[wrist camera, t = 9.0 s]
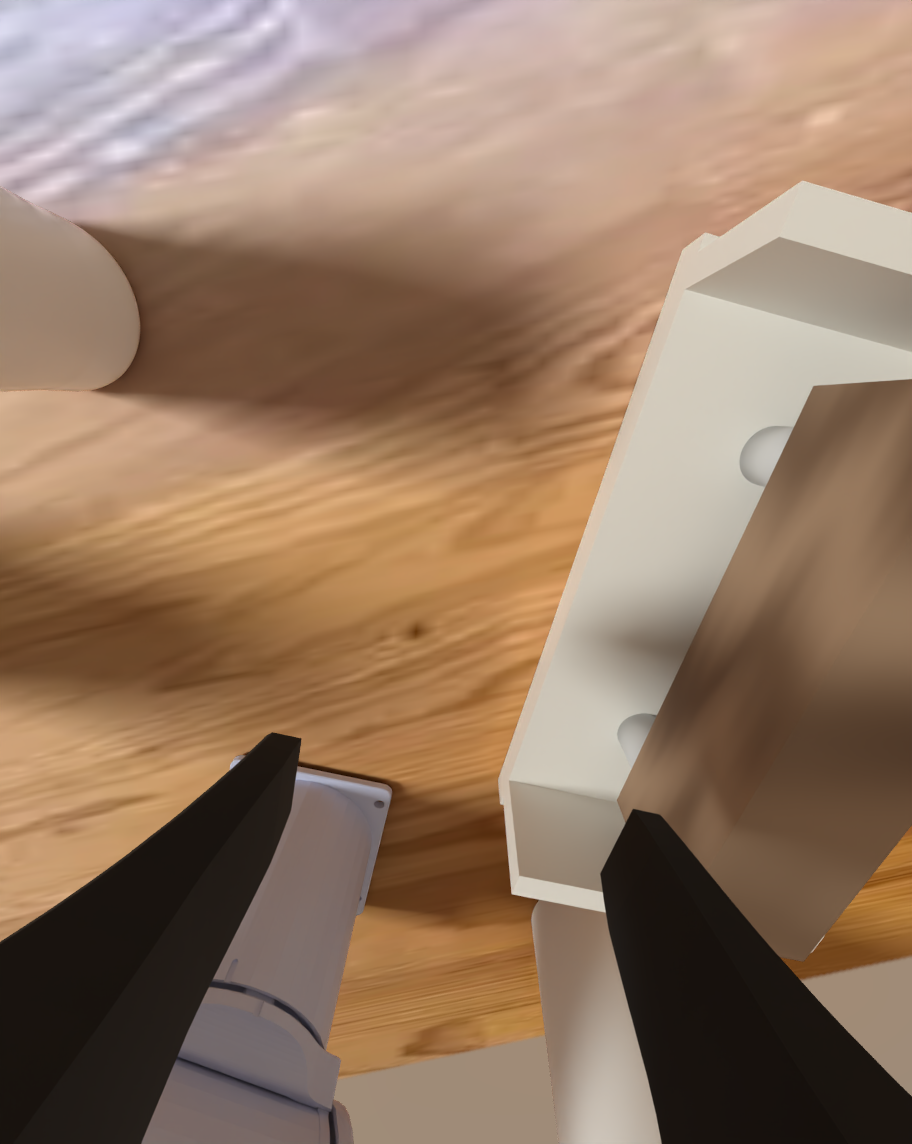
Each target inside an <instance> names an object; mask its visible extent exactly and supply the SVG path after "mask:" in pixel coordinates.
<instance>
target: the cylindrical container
mask: <svg viewBox="0 0 912 1144" xmlns="http://www.w3.org/2000/svg"><path fill="white" fill-rule="evenodd" d="M531 923H532V931H533V939H534V947H535V956H536V964H537V972H538V980H539V988H540V996H541V1004H542V1012H543V1020H544V1029H545V1037H546V1044H547V1053H548V1061H549V1069H550V1077H551V1086H552V1094H553V1101H554V1110H555V1118H556V1127H557V1135H558V1143H559V1144H662V1143H661V1138H660V1132H659V1127H658V1122H657V1117H656V1112H655V1108H654V1104H653V1099H652V1095H651V1091H650V1087H649V1082H648V1078H647V1074H646V1071H645V1067H644V1063H643V1059H642V1056H641V1052H640V1048H639V1044H638V1040H637V1037H636V1033H635V1029H634V1025H633V1022H632V1018H631V1014H630V1010H629V1007H628V1003H627V999H626V995H625V992H624V988H623V984H622V980H621V976H620V973H619V969H618V965H617V961H616V957H615V953H614V949H613V946H612V941H611V937H610V933H609V929H608V923H607V917H606V912H600V911H595V910H590V909H585V908H580V907H575V906H570V905H564V904H559V903H554V902H549V901H544V900H539V901H538V902H537V904H536V905H535V907H534V910H533V913H532V920H531Z"/></svg>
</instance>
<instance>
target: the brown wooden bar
mask: <svg viewBox="0 0 912 1144" xmlns="http://www.w3.org/2000/svg"><path fill="white" fill-rule="evenodd" d="M617 802H618V805H619V807H620V810H621V813H622V815H623V818H624V821H625V823H626V821H627V819H628V817H629V816H630V814H631V812H632V810H633V809H637V810H641V811H646V812H651V813H656V814H660V815H661V816H662V817H663V818H664V820H665V821H666V822H667V823H668V824H669V825H670V827H671V828H672V829H673V830H674V831H675V832H676V834H677V835H678V836H679V837H680V838H681V840H682V841H683V842H684V843H685V845H686V846H687V847H688V848H689V849H690V851H691V852H692V853H693V854H694V856H695V857H696V858H697V859H698V860H699V862H700V863H701V864H702V865H703V867H704V868H705V869H706V870H707V871H708V873H709V874H710V875H711V876H712V878H713V879H714V880H715V881H716V882H717V884H718V885H719V886H720V887H721V889H722V890H723V891H724V892H725V893H726V895H727V896H728V897H729V898H730V899H731V901H732V902H733V903H734V904H735V906H736V907H737V908H738V909H739V910H740V911H741V913H742V914H743V915H744V916H745V917H746V919H747V920H748V921H749V922H750V923H751V925H752V926H753V927H754V928H755V929H756V930H757V932H758V933H759V934H760V935H761V936H762V938H763V939H764V940H765V941H766V942H767V943H768V944H769V946H770V947H771V948H772V949H773V950H774V951H775V953H776V954H777V955H778V956H779V957H782V958H787V959H792V960H797V961H803V962H804V961H805V959H806V958H807V957H808V956H809V954H810V953H811V952H812V951H813V949H814V948H815V947H816V945H817V944H818V943H819V942H820V940H821V939H822V938H823V937H824V935H825V934H826V933H827V932H828V930H829V929H830V928H831V927H832V925H833V924H834V923H835V921H836V920H837V919H838V918H839V916H840V915H841V914H842V913H843V911H844V910H845V909H846V908H847V906H848V905H849V904H850V903H851V901H852V900H853V899H854V897H855V896H856V895H857V894H858V892H859V891H860V890H861V889H862V887H863V886H864V885H865V884H866V882H867V881H868V880H869V879H870V877H871V876H872V875H873V873H874V872H875V871H876V870H877V868H878V867H879V866H880V865H881V863H882V862H883V861H884V860H885V858H886V857H887V856H888V855H889V853H890V852H891V851H892V849H893V848H894V847H895V846H896V844H897V843H898V842H899V841H900V839H901V838H902V837H903V836H904V834H905V833H906V832H907V831H908V829H909V828H910V827H911V825H912V379H906V380H891V381H877V382H862V383H847V384H833V385H818V386H813V388H812V390H811V392H810V394H809V396H808V398H807V401H806V403H805V405H804V407H803V409H802V411H801V413H800V415H799V417H798V419H797V422H796V424H795V426H794V428H793V430H792V432H791V434H790V436H789V438H788V441H787V443H786V445H785V447H784V449H783V451H782V453H781V455H780V457H779V460H778V462H777V464H776V466H775V468H774V470H773V472H772V474H771V476H770V478H769V481H768V483H767V485H766V487H765V489H764V491H763V493H762V495H761V497H760V500H759V502H758V504H757V506H756V508H755V510H754V512H753V514H752V516H751V518H750V521H749V523H748V525H747V527H746V529H745V531H744V533H743V535H742V537H741V540H740V542H739V544H738V546H737V548H736V550H735V552H734V554H733V556H732V558H731V561H730V563H729V565H728V567H727V569H726V571H725V573H724V575H723V577H722V580H721V582H720V584H719V586H718V588H717V590H716V592H715V594H714V596H713V598H712V601H711V603H710V605H709V607H708V609H707V611H706V613H705V615H704V617H703V620H702V622H701V624H700V626H699V628H698V630H697V632H696V634H695V636H694V639H693V641H692V643H691V645H690V647H689V649H688V651H687V653H686V655H685V657H684V660H683V662H682V664H681V666H680V668H679V670H678V672H677V674H676V676H675V679H674V681H673V683H672V685H671V687H670V689H669V691H668V693H667V695H666V697H665V700H664V702H663V704H662V706H661V708H660V710H659V712H658V714H657V716H656V719H655V721H654V723H653V725H652V727H651V729H650V731H649V733H648V735H647V738H646V740H645V742H644V744H643V746H642V748H641V750H640V752H639V754H638V756H637V759H636V761H635V763H634V765H633V767H632V769H631V771H630V773H629V775H628V778H627V780H626V782H625V784H624V786H623V788H622V790H621V792H620V794H619V796H618V799H617Z"/></svg>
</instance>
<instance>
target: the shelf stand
mask: <svg viewBox="0 0 912 1144" xmlns="http://www.w3.org/2000/svg"><path fill="white" fill-rule="evenodd" d="M906 379H912V213H910V212H907V211H904V210H900V209H897V208H893V207H890V206H887V205H883V204H880V203H876V202H873V201H870V200H866V199H863V198H860V197H856V196H853V195H849V194H846V193H843V192H839V191H836V190H832V189H829V188H826V187H822V186H819V185H816V184H812V183H809V182H805V181H801V182H800V183H798V184H797V185H795V186H794V187H792V188H791V189H789V190H788V191H786V192H785V193H783V194H782V195H781V196H779V197H778V198H776V199H775V200H773V201H772V202H770V203H769V204H767V205H766V206H765V207H763V208H762V209H760V210H759V211H757V212H756V213H754V214H753V215H751V216H750V217H748V218H747V219H746V220H744V221H743V222H741V223H740V224H738V225H737V226H735V227H734V228H732V229H731V230H730V231H728V232H727V233H725V234H724V235H722V236H721V237H719V236H715V235H712V234H708V233H704V234H703V235H701V236H700V237H699V238H697V239H696V240H695V241H693V242H692V243H691V244H689V245H688V246H687V247H685V248H684V249H683V250H682V252H681V255H680V258H679V261H678V264H677V267H676V270H675V273H674V275H673V278H672V281H671V284H670V287H669V290H668V293H667V296H666V298H665V301H664V304H663V307H662V310H661V313H660V316H659V319H658V321H657V324H656V327H655V330H654V333H653V336H652V339H651V342H650V344H649V347H648V350H647V353H646V356H645V359H644V362H643V365H642V367H641V370H640V373H639V376H638V379H637V382H636V385H635V388H634V390H633V393H632V396H631V399H630V402H629V405H628V408H627V411H626V413H625V416H624V419H623V422H622V425H621V428H620V431H619V434H618V436H617V439H616V442H615V445H614V448H613V451H612V454H611V457H610V459H609V462H608V465H607V468H606V471H605V474H604V477H603V480H602V482H601V485H600V488H599V491H598V494H597V497H596V500H595V503H594V505H593V508H592V511H591V514H590V517H589V520H588V523H587V526H586V528H585V531H584V534H583V537H582V540H581V543H580V546H579V549H578V551H577V554H576V557H575V560H574V563H573V566H572V569H571V572H570V574H569V577H568V580H567V583H566V586H565V589H564V592H563V594H562V597H561V600H560V603H559V606H558V609H557V612H556V615H555V617H554V620H553V623H552V626H551V629H550V632H549V635H548V638H547V640H546V643H545V646H544V649H543V652H542V655H541V658H540V661H539V663H538V666H537V669H536V672H535V675H534V678H533V681H532V684H531V686H530V689H529V692H528V695H527V698H526V701H525V704H524V707H523V709H522V712H521V715H520V718H519V721H518V724H517V727H516V730H515V732H514V735H513V738H512V741H511V744H510V747H509V750H508V753H507V755H506V758H505V761H504V764H503V767H502V770H501V773H500V776H499V778H498V784H499V797H500V804H501V805H504V814H505V825H506V837H507V848H508V859H509V870H510V882H511V893H512V894H513V895H518V896H523V897H528V898H534V899H539V900H544V901H549V902H554V903H559V904H564V905H570V906H575V907H580V908H585V909H590V910H595V911H600V912H606V911H605V905H604V898H603V891H602V883H601V876H600V873H601V871H602V869H603V867H604V865H605V863H606V861H607V859H608V857H609V855H610V853H611V851H612V849H613V847H614V845H615V843H616V841H617V839H618V837H619V835H620V833H621V831H622V829H623V827H624V825H625V821H624V818H623V815H622V813H621V810H620V807H619V805H618V802H617V799H618V796H619V794H620V792H621V790H622V788H623V786H624V784H625V782H626V780H627V778H628V775H629V773H630V771H631V769H632V767H633V765H634V763H635V761H636V759H637V756H638V754H639V752H640V750H641V748H642V746H643V744H644V742H645V740H646V738H647V735H648V733H649V731H650V729H651V727H652V725H653V723H654V721H655V719H656V716H657V714H658V712H659V710H660V708H661V706H662V704H663V702H664V700H665V697H666V695H667V693H668V691H669V689H670V687H671V685H672V683H673V681H674V679H675V676H676V674H677V672H678V670H679V668H680V666H681V664H682V662H683V660H684V657H685V655H686V653H687V651H688V649H689V647H690V645H691V643H692V641H693V639H694V636H695V634H696V632H697V630H698V628H699V626H700V624H701V622H702V620H703V617H704V615H705V613H706V611H707V609H708V607H709V605H710V603H711V601H712V598H713V596H714V594H715V592H716V590H717V588H718V586H719V584H720V582H721V580H722V577H723V575H724V573H725V571H726V569H727V567H728V565H729V563H730V561H731V558H732V556H733V554H734V552H735V550H736V548H737V546H738V544H739V542H740V540H741V537H742V535H743V533H744V531H745V529H746V527H747V525H748V523H749V521H750V518H751V516H752V514H753V512H754V510H755V508H756V506H757V504H758V502H759V500H760V497H761V495H762V493H763V491H764V489H765V487H766V485H767V483H768V481H769V478H770V476H771V474H772V472H773V470H774V468H775V466H776V464H777V462H778V460H779V457H780V455H781V453H782V451H783V449H784V447H785V445H786V443H787V441H788V438H789V436H790V434H791V432H792V430H793V428H794V426H795V424H796V422H797V419H798V417H799V415H800V413H801V411H802V409H803V407H804V405H805V403H806V401H807V398H808V396H809V394H810V392H811V390H812V388H813V386H818V385H833V384H847V383H862V382H877V381H891V380H906ZM823 938H824V937H823ZM823 938H822V939H823ZM822 939H821V940H822ZM821 940H820V941H821ZM819 943H820V942H819ZM819 943H818V944H819ZM818 944H817V945H818ZM817 945H816V947H817ZM816 947H815V948H816ZM815 948H814V949H815ZM814 949H813V950H814ZM812 952H813V951H812ZM812 952H811V953H812Z"/></svg>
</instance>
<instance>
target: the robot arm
mask: <svg viewBox="0 0 912 1144" xmlns="http://www.w3.org/2000/svg"><path fill="white" fill-rule="evenodd" d="M300 746H301V738H296V737H292V736H287V735H282V734H278V733H273V732H272V733H271V734H269V735H267V736H266V737H265V738H264V739H263V740H262V741H261V742H260V743H259V744H257V745H256V746H255V747H254V748H253V749H252V750H251V751H250V752H249V753H248V754H247V755H239V756H236V757H235V758H234V760H233V761H232V763H231V765H230V771H228V772H227V773H226V774H225V775H224V776H223V777H222V778H221V779H220V780H218V781H217V782H216V783H215V784H214V785H213V786H211V787H210V788H209V789H208V790H207V791H206V792H204V793H203V794H202V795H201V796H200V797H199V798H197V799H196V800H195V801H194V802H193V803H191V804H190V805H189V806H188V807H187V808H186V809H184V810H183V811H182V812H181V813H180V814H178V815H177V816H176V817H175V818H173V819H172V820H171V821H170V822H168V823H167V824H166V825H165V826H163V827H162V828H161V829H159V830H158V831H157V832H156V833H154V834H153V835H152V836H150V837H149V838H148V839H147V840H145V841H144V842H143V843H141V844H140V845H139V846H138V847H136V848H135V849H134V850H132V851H131V852H130V853H129V854H127V855H126V856H125V857H123V858H122V859H121V860H119V861H118V862H117V863H115V864H114V865H112V866H111V867H110V868H108V869H107V870H106V871H104V872H103V873H102V874H100V875H99V876H97V877H96V878H95V879H93V880H92V881H90V882H89V883H88V884H86V885H85V886H83V887H82V888H80V889H79V890H78V891H76V892H75V893H73V894H72V895H70V896H69V897H67V898H66V899H64V900H63V901H62V902H60V903H59V904H57V905H56V906H54V907H53V908H51V909H50V910H48V911H47V912H45V913H44V914H42V915H41V916H39V917H38V918H36V919H35V920H33V921H32V922H30V923H29V924H27V925H26V926H24V927H22V928H21V929H19V930H18V931H16V932H15V933H13V934H12V935H10V936H9V937H7V938H6V939H4V940H2V941H1V942H0V1144H354V1141H353V1131H352V1126H351V1121H350V1117H349V1114H348V1112H347V1110H346V1108H345V1106H344V1105H342V1104H341V1103H340V1102H338V1101H336V1100H333V1099H334V1093H335V1088H336V1083H337V1078H338V1073H339V1068H340V1063H341V1060H340V1058H339V1057H337V1056H334V1055H332V1054H330V1053H329V1052H327V1051H326V1048H327V1043H328V1039H329V1034H330V1030H331V1025H332V1021H333V1016H334V1012H335V1007H336V1003H337V998H338V994H339V989H340V985H341V980H342V976H343V971H344V967H345V962H346V958H347V953H348V949H349V944H350V940H351V935H352V931H353V926H354V922H355V917H356V916H357V915H360V914H361V913H362V912H363V910H364V906H365V902H366V898H367V894H368V890H369V886H370V882H371V878H372V873H373V869H374V865H375V861H376V857H377V853H378V849H379V845H380V841H381V837H382V833H383V829H384V825H385V821H386V817H387V813H388V809H389V805H390V801H391V796H392V789H391V788H390V787H389V786H388V785H386V784H382V783H377V782H372V781H367V780H363V779H358V778H353V777H348V776H343V775H338V774H333V773H328V772H324V771H319V770H314V769H309V768H304V767H299V766H298V760H299V753H300ZM379 801H383V802H379ZM600 876H601V883H602V891H603V898H604V905H605V911H606V917H607V923H608V929H609V933H610V937H611V941H612V946H613V949H614V953H615V957H616V961H617V965H618V969H619V973H620V976H621V980H622V984H623V988H624V992H625V995H626V999H627V1003H628V1007H629V1010H630V1014H631V1018H632V1022H633V1025H634V1029H635V1033H636V1037H637V1040H638V1044H639V1048H640V1052H641V1056H642V1059H643V1063H644V1067H645V1071H646V1074H647V1078H648V1082H649V1087H650V1091H651V1095H652V1099H653V1104H654V1108H655V1112H656V1117H657V1122H658V1127H659V1132H660V1138H661V1143H662V1144H912V1096H911V1095H910V1094H909V1093H907V1091H905V1090H904V1088H903V1087H901V1086H900V1085H899V1084H898V1083H897V1082H896V1081H895V1080H894V1079H893V1078H892V1077H891V1076H890V1075H889V1074H888V1073H887V1072H886V1071H885V1070H884V1068H883V1067H882V1066H881V1065H880V1064H879V1063H877V1061H876V1060H875V1059H874V1058H873V1057H872V1056H871V1055H870V1054H869V1053H868V1052H867V1051H866V1050H865V1049H864V1048H863V1047H862V1046H861V1045H860V1044H859V1043H858V1042H857V1041H856V1040H855V1039H854V1038H853V1037H852V1036H851V1035H850V1034H849V1033H848V1032H847V1031H846V1029H845V1028H844V1027H843V1026H842V1025H841V1024H840V1023H839V1022H838V1021H837V1020H836V1019H835V1018H834V1017H833V1016H832V1015H831V1014H830V1012H829V1011H828V1010H827V1009H826V1008H825V1007H824V1006H823V1005H822V1004H821V1003H820V1002H819V1001H818V1000H817V998H816V997H815V996H814V995H813V994H812V993H811V992H810V991H809V990H808V988H807V987H806V986H805V985H804V984H803V983H802V982H801V981H800V980H799V978H798V977H797V976H796V975H795V974H794V973H793V972H792V971H791V969H790V968H789V967H788V966H787V965H786V964H785V963H784V962H783V961H782V959H781V958H780V957H779V956H778V955H777V954H776V953H775V951H774V950H773V949H772V948H771V947H770V946H769V944H768V943H767V942H766V941H765V940H764V939H763V938H762V936H761V935H760V934H759V933H758V932H757V930H756V929H755V928H754V927H753V926H752V925H751V923H750V922H749V921H748V920H747V919H746V917H745V916H744V915H743V914H742V913H741V911H740V910H739V909H738V908H737V907H736V906H735V904H734V903H733V902H732V901H731V899H730V898H729V897H728V896H727V895H726V893H725V892H724V891H723V890H722V889H721V887H720V886H719V885H718V884H717V882H716V881H715V880H714V879H713V878H712V876H711V875H710V874H709V873H708V871H707V870H706V869H705V868H704V867H703V865H702V864H701V863H700V862H699V860H698V859H697V858H696V857H695V856H694V854H693V853H692V852H691V851H690V849H689V848H688V847H687V846H686V845H685V843H684V842H683V841H682V840H681V838H680V837H679V836H678V835H677V834H676V832H675V831H674V830H673V829H672V828H671V827H670V825H669V824H668V823H667V822H666V821H665V820H664V818H663V817H662V816H661V815H660V814H656V813H651V812H646V811H641V810H637V809H633V810H632V812H631V814H630V816H629V817H628V819H627V821H626V823H625V825H624V827H623V829H622V831H621V833H620V835H619V837H618V839H617V841H616V843H615V845H614V847H613V849H612V851H611V853H610V855H609V857H608V859H607V861H606V863H605V865H604V867H603V869H602V871H601V873H600Z"/></svg>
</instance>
